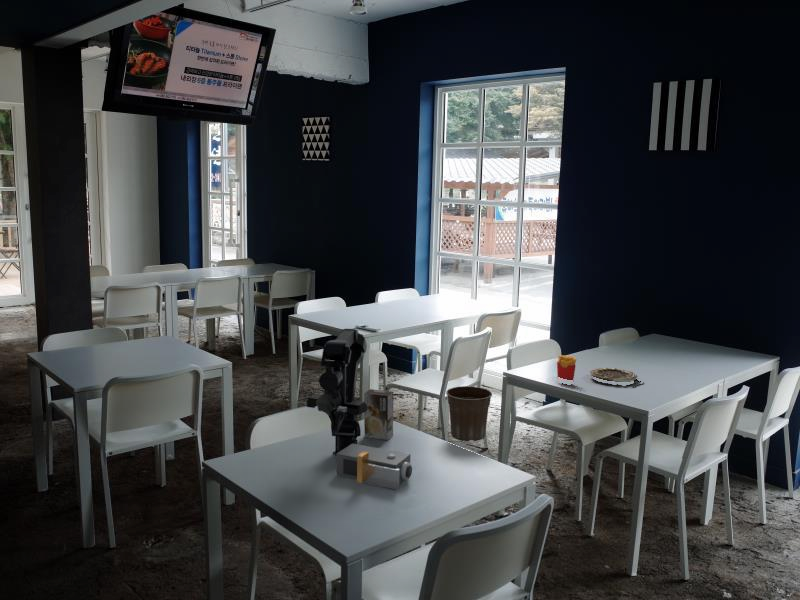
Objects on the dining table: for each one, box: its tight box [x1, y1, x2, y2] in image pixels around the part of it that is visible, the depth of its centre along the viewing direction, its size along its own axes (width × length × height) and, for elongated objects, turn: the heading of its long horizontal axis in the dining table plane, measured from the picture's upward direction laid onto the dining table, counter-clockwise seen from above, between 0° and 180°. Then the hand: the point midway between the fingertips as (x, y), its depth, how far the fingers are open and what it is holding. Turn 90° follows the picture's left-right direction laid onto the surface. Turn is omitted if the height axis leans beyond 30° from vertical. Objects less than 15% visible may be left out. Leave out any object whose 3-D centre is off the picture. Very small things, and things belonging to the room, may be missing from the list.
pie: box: [589, 367, 638, 382], centre depth 335 cm, size 28×27×5 cm
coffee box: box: [363, 388, 394, 441], centre depth 251 cm, size 9×6×16 cm
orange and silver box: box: [356, 452, 400, 491], centre depth 206 cm, size 11×5×10 cm, turn 65°
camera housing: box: [335, 444, 413, 486], centre depth 215 cm, size 22×10×8 cm, turn 65°
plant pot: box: [445, 385, 493, 442], centre depth 253 cm, size 16×16×16 cm
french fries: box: [556, 354, 577, 381], centre depth 327 cm, size 9×4×13 cm, turn 43°
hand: (336, 431), depth 220 cm, fingers closed
